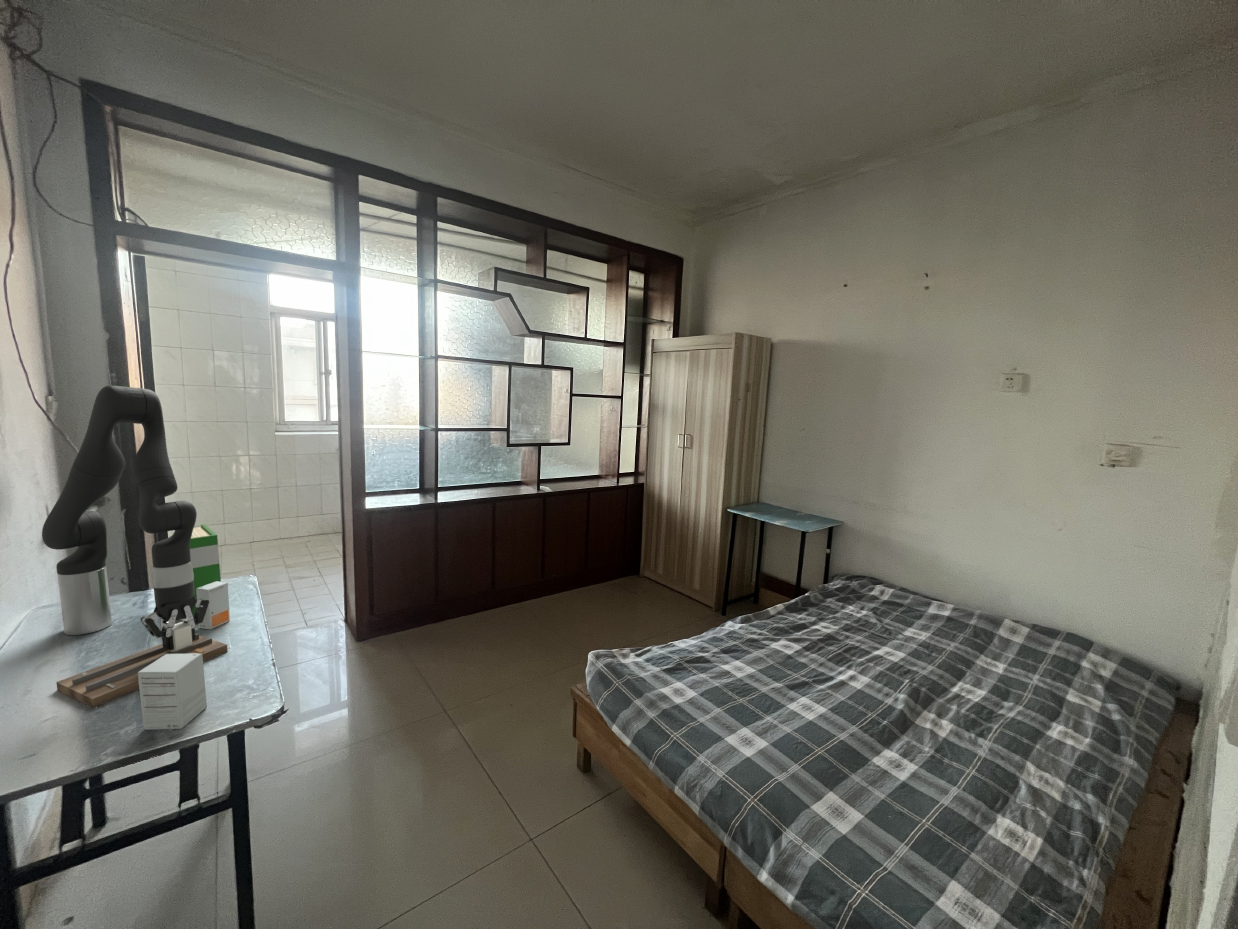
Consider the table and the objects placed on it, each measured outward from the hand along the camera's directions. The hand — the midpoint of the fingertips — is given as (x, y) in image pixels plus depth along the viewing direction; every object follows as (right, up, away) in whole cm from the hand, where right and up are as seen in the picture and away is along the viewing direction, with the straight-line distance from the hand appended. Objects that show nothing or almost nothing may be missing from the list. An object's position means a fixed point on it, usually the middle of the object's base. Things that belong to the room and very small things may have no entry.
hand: (179, 645), depth 126 cm
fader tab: (0, -1, 0) cm, 1 cm away
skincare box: (-6, -1, +18) cm, 19 cm away
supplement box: (+20, -7, -23) cm, 31 cm away
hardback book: (-21, +1, +31) cm, 37 cm away
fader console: (-3, -4, -6) cm, 7 cm away
